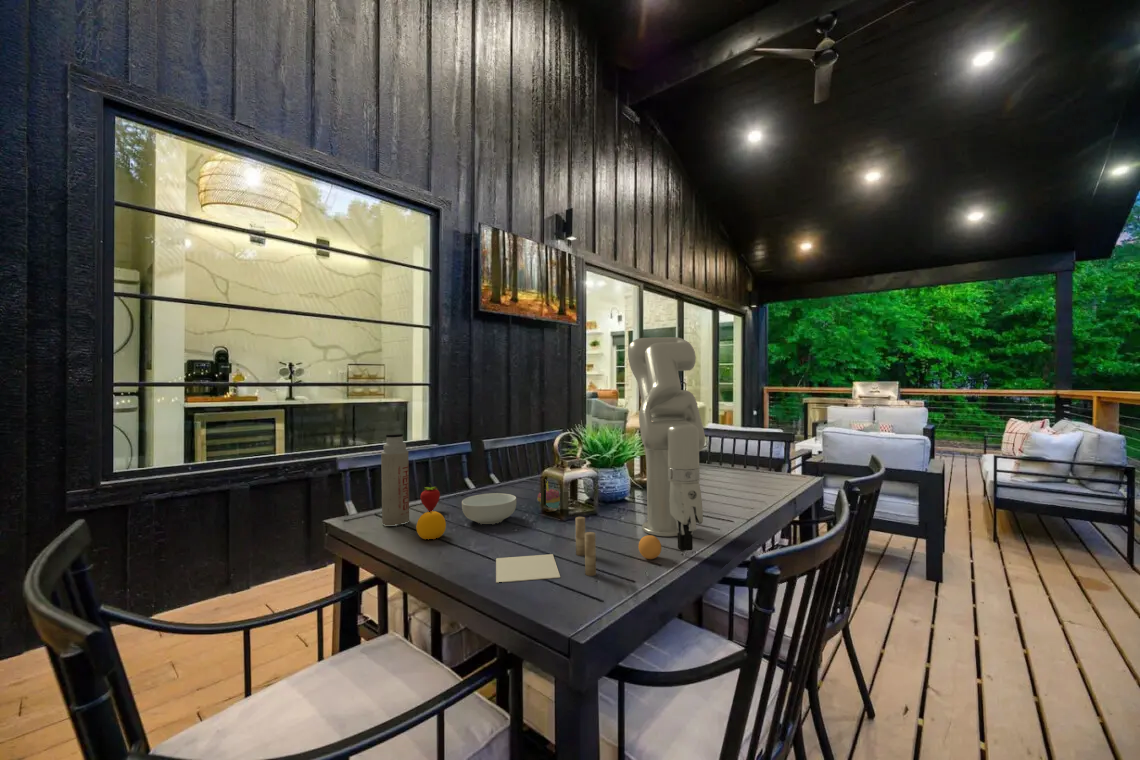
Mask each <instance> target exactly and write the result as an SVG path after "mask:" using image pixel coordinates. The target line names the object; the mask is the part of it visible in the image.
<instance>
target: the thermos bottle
mask: <svg viewBox="0 0 1140 760" xmlns="http://www.w3.org/2000/svg"><path fill="white" fill-rule="evenodd" d="M403 436H404V434H403V433H400V432H397V433H396V432H395V433H387V434H385V437H386V443H384V444H383V447H382V448H383V451H381V453H380V455H381V456H380V460H381V464H380V465H381V471H380V472H381V518H382V519H381V524H382V523H383V524H385V525H395V524H401V523H405V522H408V521H409V522H410V474H409V473H410V472H409V471H410V467H409V450H407V444H406V443H405V442H404V437H403Z"/></svg>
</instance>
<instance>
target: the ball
mask: <svg viewBox="0 0 1140 760" xmlns="http://www.w3.org/2000/svg"><path fill="white" fill-rule="evenodd" d="M638 551H639V553H640V554H641V556H642V557H643V558H645V559H647V560H653V559H654V560H655V559H656V558H658V557H659V556H660V555H661V552H662V543H661V541H660V540H659V538H657V537H656V535H651V534H649V535H644V536H643V537H641V538H640V540H639V541H638Z"/></svg>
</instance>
